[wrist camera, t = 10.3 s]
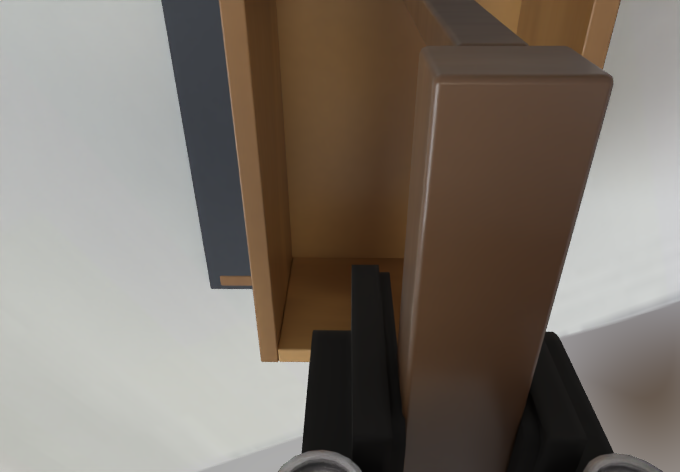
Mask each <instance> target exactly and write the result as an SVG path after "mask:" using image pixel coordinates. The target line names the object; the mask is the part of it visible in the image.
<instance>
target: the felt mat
mask: <svg viewBox="0 0 680 472" xmlns="http://www.w3.org/2000/svg"><path fill="white" fill-rule="evenodd" d="M162 6H163V12H164V18H165V24H166V29H167V35H168V41H169V47H170V53H171V59H172V64H173V70H174V76H175V82H176V88H177V93H178V99H179V105H180V111H181V117H182V123H183V128H184V134H185V140H186V146H187V152H188V157H189V163H190V169H191V175H192V181H193V187H194V192H195V198H196V204H197V210H198V216H199V222H200V227H201V233H202V239H203V245H204V251H205V256H206V262H207V268H208V274H209V280H210V286H211V288H212V289H253V287H252V279H251V270H250V262H249V253H248V245H247V236H246V228H245V219H244V211H243V202H242V194H241V185H240V177H239V168H238V160H237V151H236V143H235V134H234V126H233V117H232V109H231V100H230V92H229V83H228V75H227V66H226V58H225V49H224V41H223V32H222V24H221V15H220V7H219V0H162Z"/></svg>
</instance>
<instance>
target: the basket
mask: <svg viewBox="0 0 680 472" xmlns="http://www.w3.org/2000/svg"><path fill="white" fill-rule="evenodd" d="M620 1H621V0H219V7H220V15H221V24H222V32H223V41H224V49H225V58H226V66H227V75H228V83H229V92H230V100H231V109H232V117H233V126H234V134H235V143H236V151H237V160H238V168H239V177H240V185H241V194H242V202H243V211H244V219H245V228H246V236H247V245H248V253H249V262H250V270H251V279H252V287H253V296H254V304H255V313H256V321H257V330H258V338H259V347H260V355H261V361H262V362H278V361H280V362H310V352H311V341H312V332H313V330H351V280H352V265H379V272H389V273H390V281H391V291H392V300H393V310H394V319H395V329H396V338H397V366H398V376H399V386H400V396H401V406H402V414H403V416H404V418H405V426H406V449H405V460H404V470H403V472H507V469H508V465H509V462H510V458H511V454H512V451H513V447H514V443H515V440H516V436H517V432H518V429H519V425H520V421H521V419H522V416H523V412H524V409H525V405H526V401H527V398H528V394H529V390H530V387H531V383H532V379H533V376H534V372H535V368H536V365H537V361H538V357H539V354H540V350H541V346H542V343H543V339H544V336H545V332H546V328H547V325H548V321H549V317H550V314H551V310H552V306H553V303H554V299H555V295H556V292H557V288H558V284H559V281H560V277H561V274H562V270H563V266H564V263H565V259H566V255H567V252H568V248H569V244H570V241H571V237H572V233H573V230H574V226H575V222H576V219H577V215H578V212H579V208H580V204H581V201H582V197H583V193H584V190H585V186H586V182H587V179H588V175H589V171H590V168H591V164H592V160H593V157H594V153H595V149H596V146H597V142H598V139H599V135H600V131H601V128H602V124H603V120H604V117H605V113H606V109H607V106H608V102H609V98H610V95H611V91H612V87H613V77H612V76H611V75H610V74H608V73H607V72H605V71H604V70H603V67H604V63H605V59H606V55H607V51H608V47H609V44H610V40H611V36H612V32H613V28H614V24H615V20H616V17H617V13H618V9H619V5H620Z"/></svg>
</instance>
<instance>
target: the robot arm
mask: <svg viewBox="0 0 680 472" xmlns="http://www.w3.org/2000/svg"><path fill="white" fill-rule="evenodd" d="M405 449H406V426H405V418H404V416H403V414H402V406H401V396H400V386H399V376H398V366H397V338H396V329H395V319H394V310H393V300H392V291H391V281H390V273H389V272H379V265H352V280H351V330H313V332H312V341H311V352H310V364H309V375H308V387H307V398H306V410H305V421H304V433H303V444H302V454H300V455H297V456H295V457H293V458H292V459H291V460H289V461H288V462H287V463H285V464H284V465H283V466H282V467H281V468H280V470H279V471H278V472H403V470H404V460H405ZM507 472H663V471H662V470H660V469H658V468H657V467H655V466H653V465H652V464H650V463H648V462H646V461H644V460H642V459H639V458H635V457H633V456H630V455H625V454H617V453H614V452H613V450H612V448H611V446H610V444H609V442H608V439H607V437H606V435H605V433H604V431H603V429H602V427H601V425H600V422H599V420H598V419H597V416H596V414H595V412H594V410H593V408H592V406H591V404H590V401H589V400H588V397H587V395H586V393H585V391H584V389H583V387H582V385H581V382H580V380H579V378H578V376H577V374H576V372H575V370H574V368H573V366H572V363H571V361H570V359H569V357H568V355H567V353H566V351H565V349H564V347H563V345H562V342H561V341H560V339H559V337H558V336H557V335H556V334H555V333H554V332H545V336H544V339H543V343H542V346H541V350H540V354H539V357H538V361H537V365H536V368H535V372H534V376H533V379H532V383H531V387H530V390H529V394H528V398H527V401H526V405H525V409H524V412H523V416H522V419H521V421H520V425H519V429H518V432H517V436H516V440H515V443H514V447H513V451H512V454H511V458H510V462H509V465H508V469H507Z"/></svg>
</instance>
